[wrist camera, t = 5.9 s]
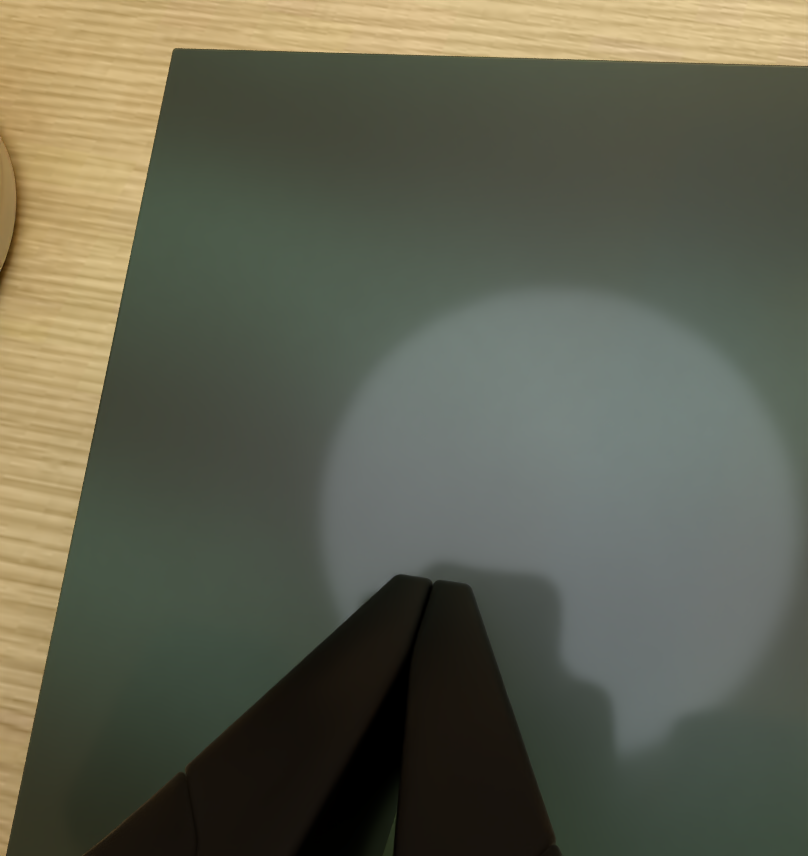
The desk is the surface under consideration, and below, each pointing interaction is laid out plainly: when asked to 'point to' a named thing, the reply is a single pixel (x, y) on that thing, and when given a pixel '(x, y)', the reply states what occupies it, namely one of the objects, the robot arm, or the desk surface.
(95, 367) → the desk surface
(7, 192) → the jar
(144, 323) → the lid
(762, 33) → the desk surface
